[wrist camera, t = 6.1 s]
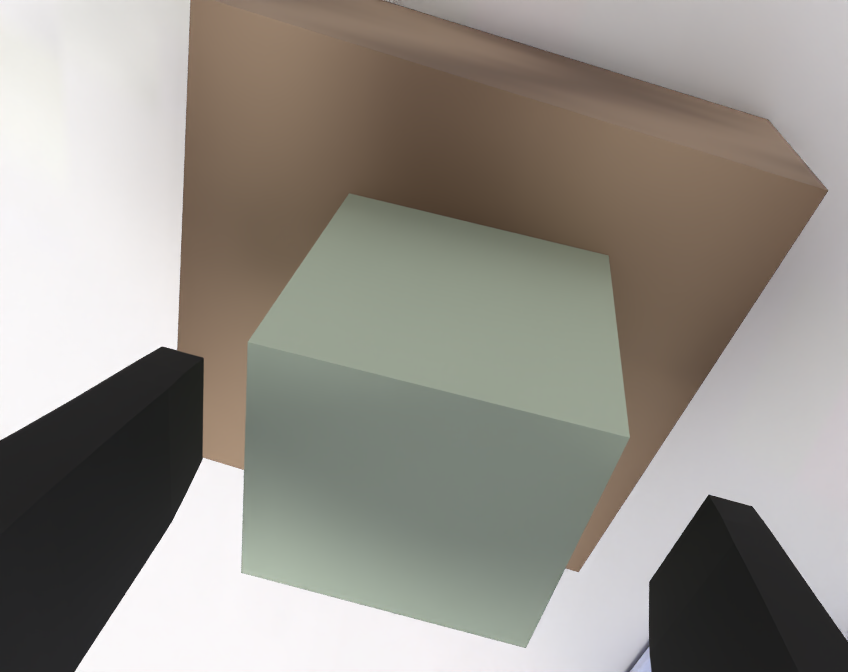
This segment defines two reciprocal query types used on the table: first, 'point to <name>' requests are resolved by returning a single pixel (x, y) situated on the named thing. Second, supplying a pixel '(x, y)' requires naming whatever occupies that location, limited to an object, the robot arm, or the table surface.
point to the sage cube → (431, 418)
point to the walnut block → (471, 187)
